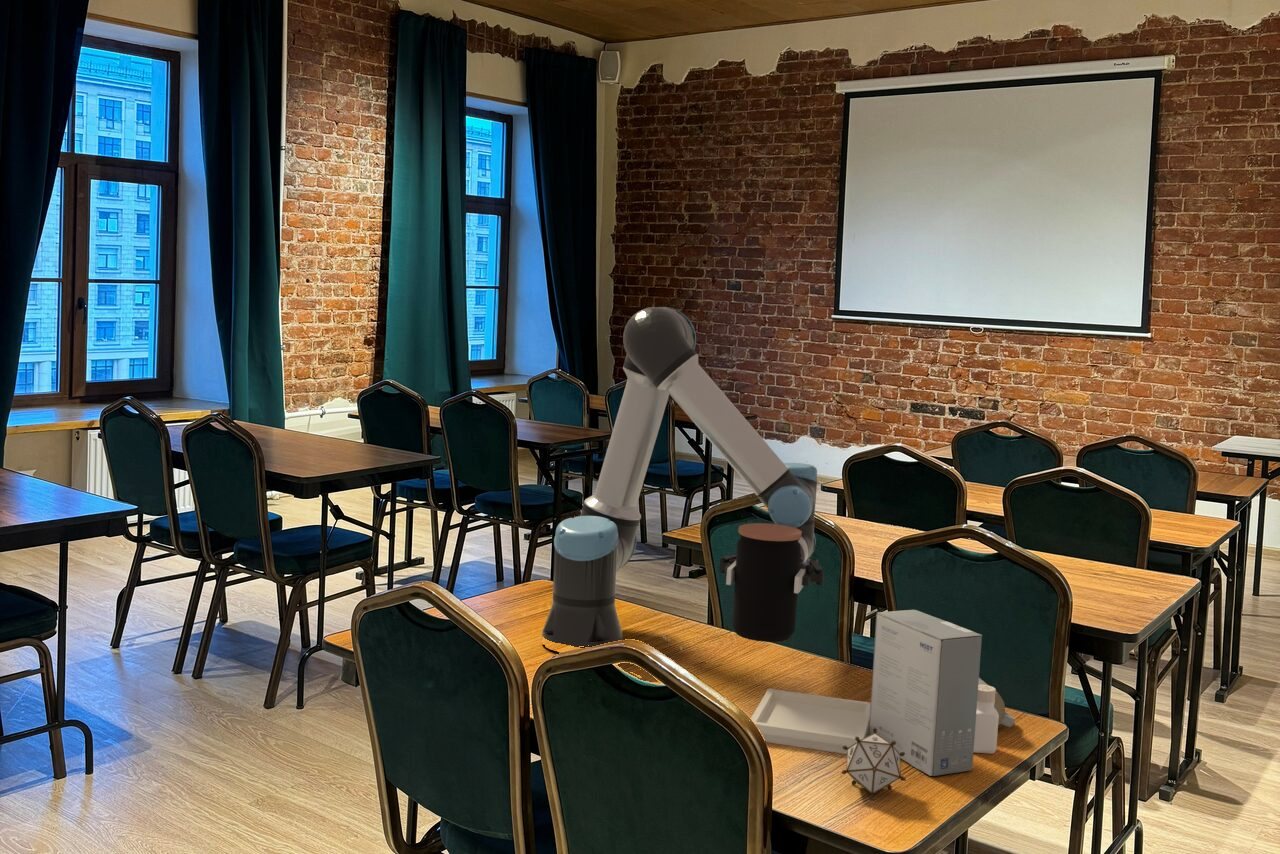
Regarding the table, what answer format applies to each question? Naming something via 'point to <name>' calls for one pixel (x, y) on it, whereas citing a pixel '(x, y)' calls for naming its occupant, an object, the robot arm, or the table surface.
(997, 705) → the ceramic mug
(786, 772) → the table surface
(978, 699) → the pepper shaker
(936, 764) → the hard drive box
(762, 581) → the coffee jar
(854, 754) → the game die
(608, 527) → the robot arm
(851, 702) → the tray
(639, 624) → the table surface
